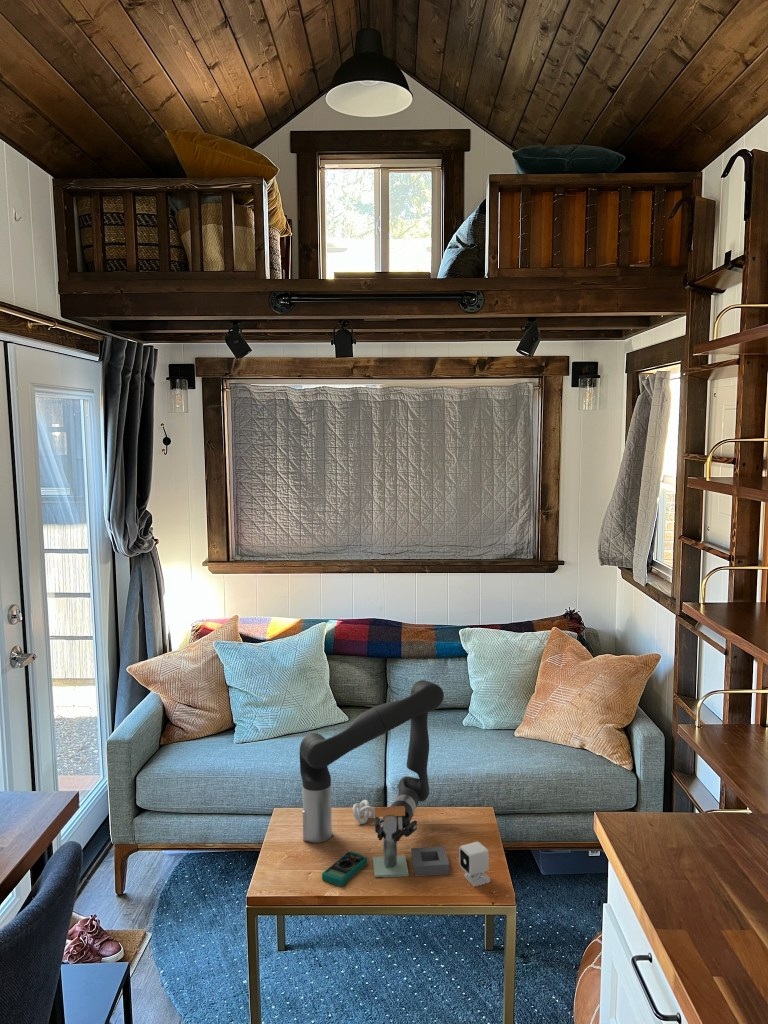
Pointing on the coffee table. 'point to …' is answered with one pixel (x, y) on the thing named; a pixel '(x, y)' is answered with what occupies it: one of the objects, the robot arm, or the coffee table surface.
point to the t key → (389, 831)
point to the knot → (363, 811)
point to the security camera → (474, 863)
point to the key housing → (429, 861)
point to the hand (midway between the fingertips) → (387, 838)
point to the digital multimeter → (344, 868)
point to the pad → (390, 867)
